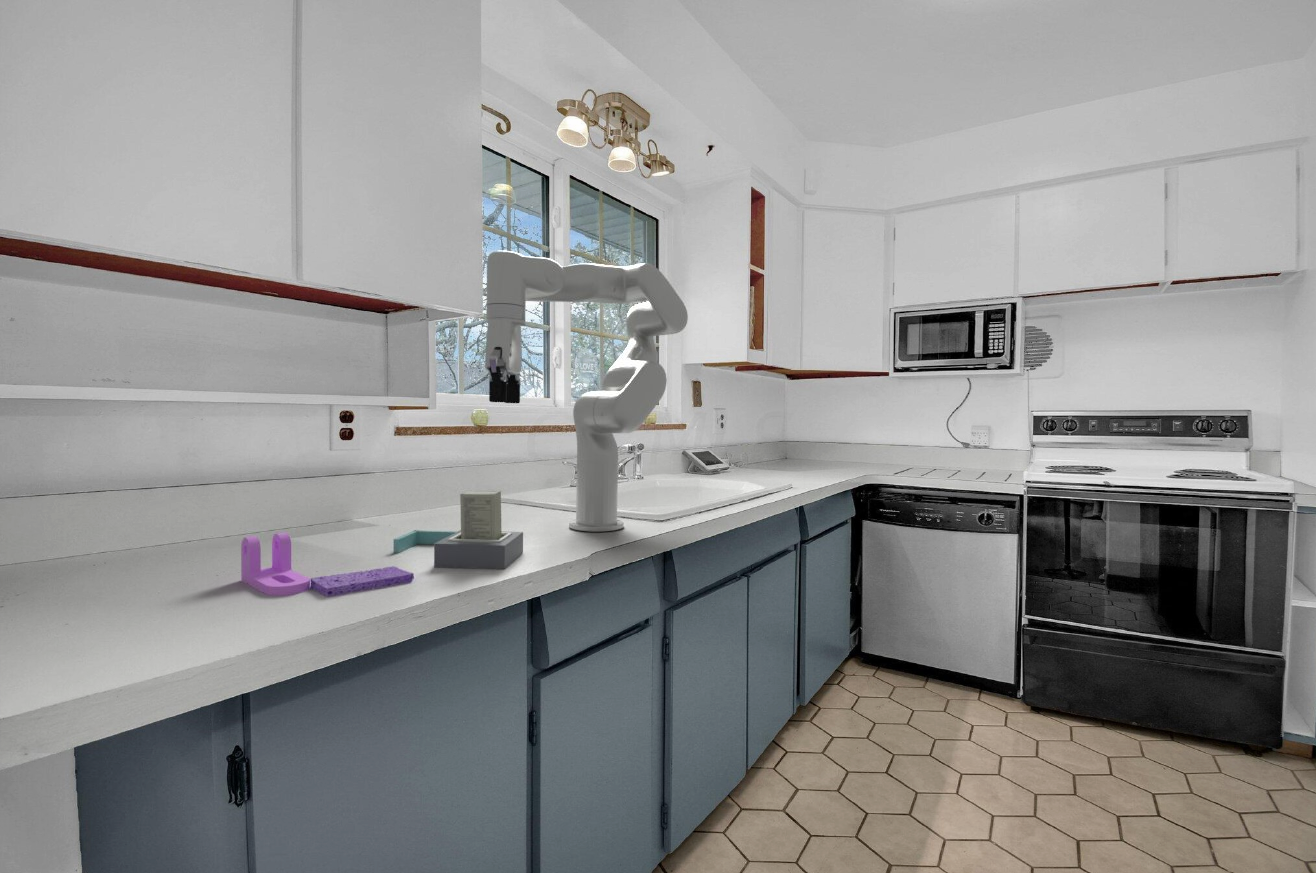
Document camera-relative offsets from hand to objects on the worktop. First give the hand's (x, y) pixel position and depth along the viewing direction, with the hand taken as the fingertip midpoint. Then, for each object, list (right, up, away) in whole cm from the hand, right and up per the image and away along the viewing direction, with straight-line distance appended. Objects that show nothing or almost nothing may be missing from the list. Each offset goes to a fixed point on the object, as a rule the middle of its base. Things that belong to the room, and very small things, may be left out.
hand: (505, 402), depth 122 cm
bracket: (-26, -29, -31) cm, 50 cm away
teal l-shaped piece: (-13, -28, -5) cm, 31 cm away
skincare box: (-1, -29, -13) cm, 32 cm away
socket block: (-1, -29, -13) cm, 32 cm away
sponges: (-14, -30, -29) cm, 44 cm away
